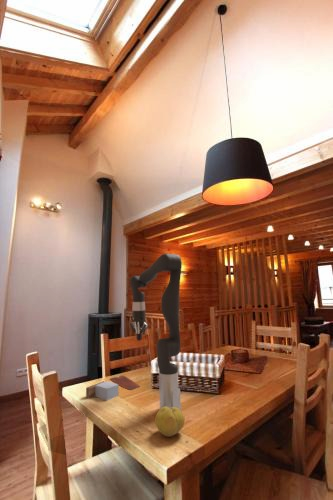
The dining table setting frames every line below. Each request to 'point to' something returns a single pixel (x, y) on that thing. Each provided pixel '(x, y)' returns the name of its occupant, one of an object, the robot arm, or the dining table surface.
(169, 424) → the fruit
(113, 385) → the slate brick
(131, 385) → the wooden tablet
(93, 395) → the walnut board
